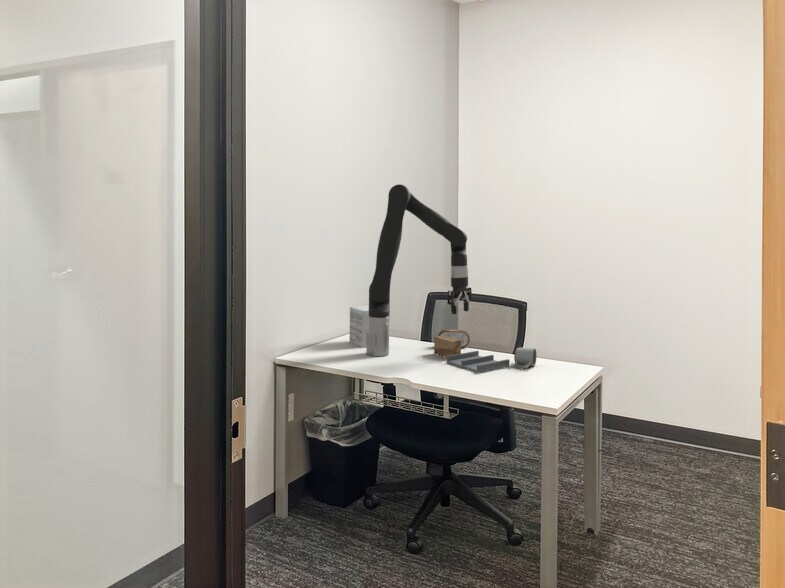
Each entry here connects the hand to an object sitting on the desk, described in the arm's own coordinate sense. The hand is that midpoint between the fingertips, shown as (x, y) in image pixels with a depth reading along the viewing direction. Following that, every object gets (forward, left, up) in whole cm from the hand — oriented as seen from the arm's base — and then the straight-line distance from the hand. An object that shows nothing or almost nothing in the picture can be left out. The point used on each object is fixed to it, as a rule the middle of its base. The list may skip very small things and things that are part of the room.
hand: (460, 312), depth 270 cm
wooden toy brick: (-4, +3, -20) cm, 20 cm away
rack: (-4, -16, -20) cm, 25 cm away
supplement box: (-20, +42, -20) cm, 51 cm away
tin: (+10, +14, -20) cm, 27 cm away
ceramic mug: (+12, -28, -20) cm, 36 cm away
